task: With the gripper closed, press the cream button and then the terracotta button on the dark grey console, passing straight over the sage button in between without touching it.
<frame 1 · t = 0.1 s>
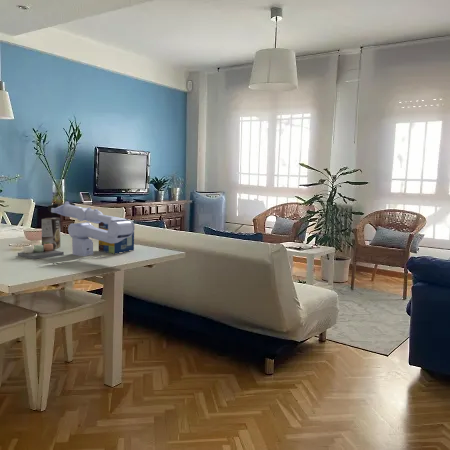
hand: (55, 207, 221), 22 cm above the table, tool horizontal, fingers open, 7 cm apart
protein box: (116, 251, 229), on the table
terracotta button: (48, 247, 210), point 4 cm above the table, slide at 0.0 cm
cream button: (28, 249, 202), point 4 cm above the table, slide at 0.0 cm
sage button: (38, 248, 206), point 4 cm above the table, slide at 0.0 cm
console: (41, 257, 206), on the table
coffee box: (51, 250, 225), on the table
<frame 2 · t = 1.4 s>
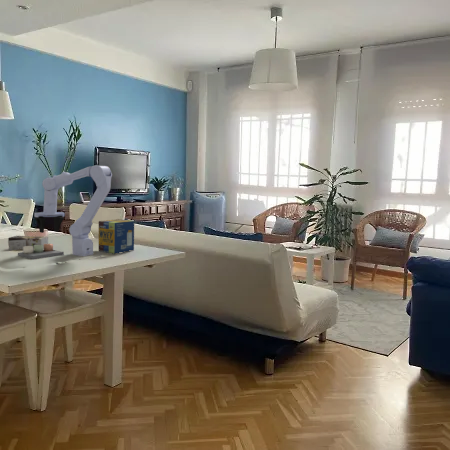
hand: (48, 232, 214), 11 cm above the table, tool pointing down, fingers open, 7 cm apart
coffee box: (45, 243, 225), point 3 cm above the table
everything else where it was.
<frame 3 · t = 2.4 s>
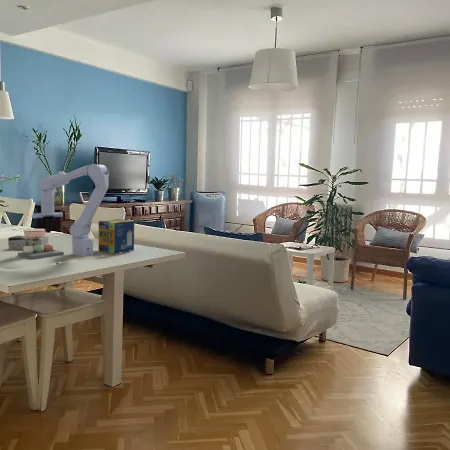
hand: (48, 232, 213), 10 cm above the table, tool pointing down, fingers closed
nothing on the table moved.
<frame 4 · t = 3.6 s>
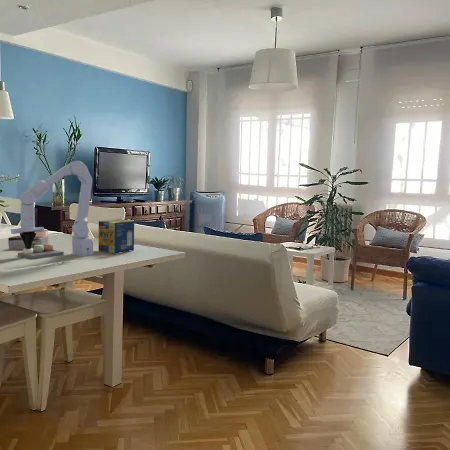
hand: (28, 248, 202), 4 cm above the table, tool pointing down, fingers closed, pressing on cream button
cream button: (28, 252, 202), point 3 cm above the table, slide at -1.0 cm, touching gripper
everything else where it was.
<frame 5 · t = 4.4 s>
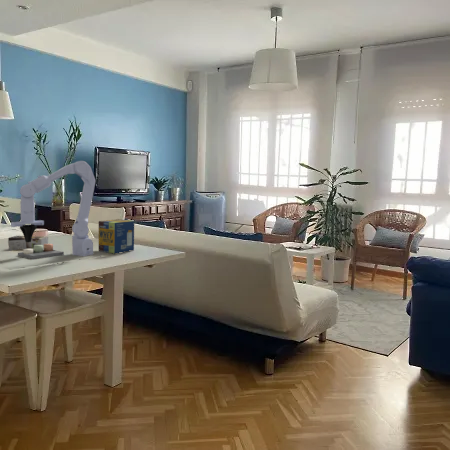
hand: (28, 242, 202), 7 cm above the table, tool pointing down, fingers closed
cream button: (28, 252, 202), point 3 cm above the table, slide at -1.2 cm
everything else where it was.
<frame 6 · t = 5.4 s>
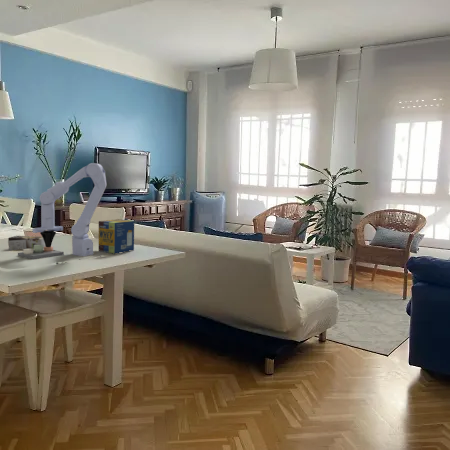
hand: (48, 247, 210), 4 cm above the table, tool pointing down, fingers closed, pressing on terracotta button
terracotta button: (48, 250, 210), point 3 cm above the table, slide at -1.2 cm, touching gripper
everything else where it was.
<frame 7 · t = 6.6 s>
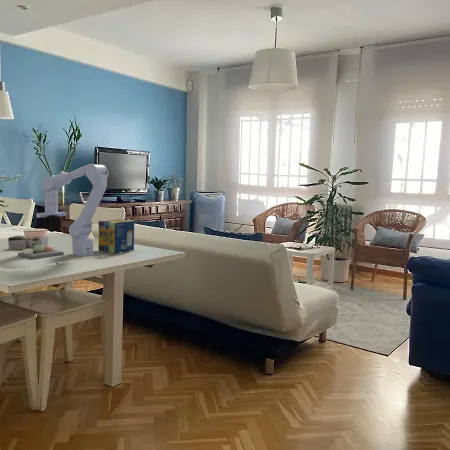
hand: (51, 231, 216), 10 cm above the table, tool pointing down, fingers closed
terracotta button: (48, 250, 210), point 3 cm above the table, slide at -1.2 cm
everything else where it was.
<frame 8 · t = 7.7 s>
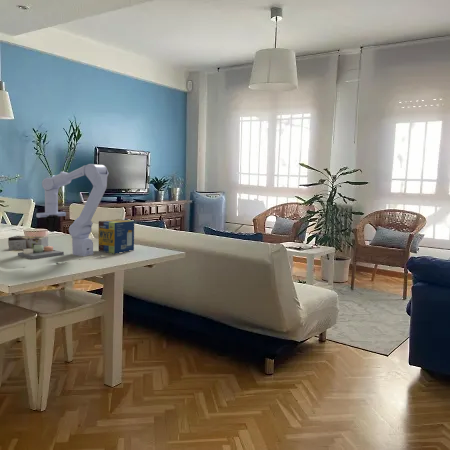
hand: (51, 231, 216), 10 cm above the table, tool pointing down, fingers closed
nothing on the table moved.
at the end: cream button slide at -1.2 cm; terracotta button slide at -1.2 cm; sage button slide at 0.0 cm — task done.
